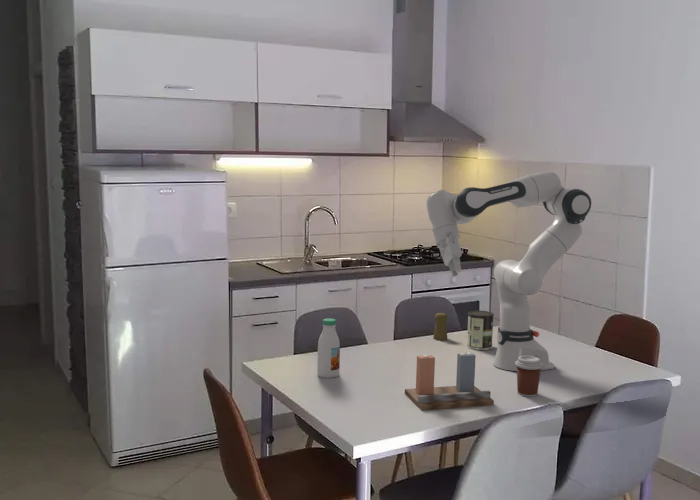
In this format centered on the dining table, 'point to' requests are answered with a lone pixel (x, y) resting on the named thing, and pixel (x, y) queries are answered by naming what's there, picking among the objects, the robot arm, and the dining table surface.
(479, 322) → the coffee can
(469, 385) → the tile two
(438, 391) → the board
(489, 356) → the dining table surface
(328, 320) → the milk bottle
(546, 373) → the dining table surface
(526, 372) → the coffee cup
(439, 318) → the pepper mill
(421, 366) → the tile one
